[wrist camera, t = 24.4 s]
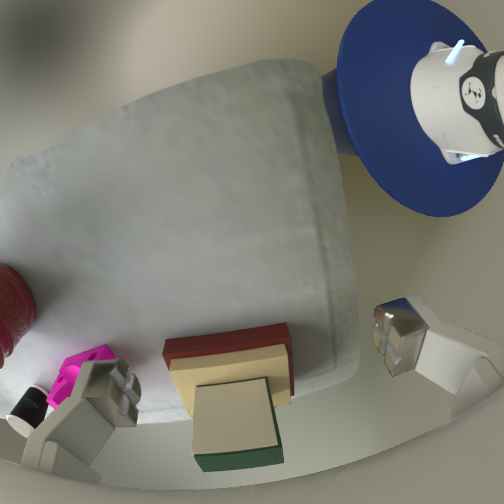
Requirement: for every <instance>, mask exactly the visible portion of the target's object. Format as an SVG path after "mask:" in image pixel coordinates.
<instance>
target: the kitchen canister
mask: <svg viewBox="0 0 504 504" xmlns="http://www.w3.org/2000/svg"><path fill="white" fill-rule="evenodd" d="M34 319H35V304H34V300H33V297H32V295H31V292H30V290H29V288H28V287H27V285H26V283H25V282H24V281H23V279H22V278H21V277H20V276H19V275H18V274H17V273H16V272H15V271H14V270H13V269H11V268H10V267H8V266H6V265H4V264H0V369H1V368H2V367H3V365H4V358H6V357H8V356H10V355H11V354H12V352H13V350H14V348H15V346H16V345H17V344H18V342H19V341H20V340H21V338H22V337H23V336H24V335H25V334H26V333H27V332H28V331H29V330H30V328H31V326H32V324H33V322H34Z"/></svg>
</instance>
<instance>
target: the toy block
mask: <svg viewBox="0 0 504 504" xmlns="http://www.w3.org/2000/svg"><path fill="white" fill-rule="evenodd" d="M109 359H117V358H116V357H115V355H114V354H113V353H112V352H111V350H110V349H109V348H108V347H107V345H106V344H105V345H103V346H100V347H97V348H94V349H92V350H89V351H86V352H83V353H80V354H78V355H75V356H72V357H69V358H66V359H65V361H64V363H63V365H62V367H61V369H60V370H59V372H60V373H59V375H58V377H57V379H56V381H55V383H54V385H53V387H52V389H51V391H50V393H49V395H48V397H47V399H46V401H47V402H48V403H49V404H50V405H51V406H52V407H53V408H54V409H56V408H57V407H58V406H59V405H60V404H61V403H62V402H63V401H64V400H65V399H66V398H67V397H70V396H71V393H72V390H73V387H74V385H75V382H76V379H77V376H78V373H79V371H80V368H81V365H82V363H84V362H85V361H96V360H109Z"/></svg>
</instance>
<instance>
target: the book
mask: <svg viewBox="0 0 504 504" xmlns="http://www.w3.org/2000/svg"><path fill="white" fill-rule="evenodd" d="M192 433H193V434H192V455H193V457H194V458H195V460H196V462H197V463H198V465H199V466H200V468H201V469H202V470H203V472H212V471H226V470H237V469H246V468H254V467H261V466H268V465H274V464H280V463H284V457H283V450H282V443H281V438H280V434H279V429H278V424H277V420H276V416H275V410H274V405H273V401H272V396H271V391H270V386H269V381H268V377H267V376H265V377H259V378H253V379H246V380H240V381H232V382H225V383H217V384H208V385H198V386H196V388H195V390H194V409H193V432H192Z"/></svg>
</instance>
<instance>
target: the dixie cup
mask: <svg viewBox="0 0 504 504" xmlns="http://www.w3.org/2000/svg"><path fill="white" fill-rule="evenodd" d="M48 395H49V394H48V393H47V391H46V390H45V389H43V388H42V387H40V386H38V385H32V386H31V387H30V388H29V389H28V390H27V391H26V393H25V394H24V395H23V397H22V398H21V399H20V401H19V402H18V403H17V405H16V406H15V408H14V409H13V410H12V412H11V413H10V415H7V421H8V422H9V424H10V425H11V426H12V427H13V428H14V429H15V430H16V431H17V432H18V433H20V434H21V435H22V436H24V437H26V438H28V436H29V435H30V434H31V433H32V432H33V431H34V430H35V429H36V428H37V427H38V426H39V425H40V424H41V423H42V422H43V421H44V418H45V415H46V411H47V408H48V405H49V403H48V402H47V401H46V399H47V397H48Z"/></svg>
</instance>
